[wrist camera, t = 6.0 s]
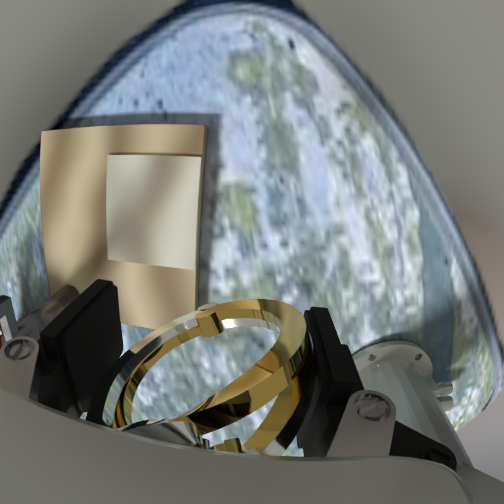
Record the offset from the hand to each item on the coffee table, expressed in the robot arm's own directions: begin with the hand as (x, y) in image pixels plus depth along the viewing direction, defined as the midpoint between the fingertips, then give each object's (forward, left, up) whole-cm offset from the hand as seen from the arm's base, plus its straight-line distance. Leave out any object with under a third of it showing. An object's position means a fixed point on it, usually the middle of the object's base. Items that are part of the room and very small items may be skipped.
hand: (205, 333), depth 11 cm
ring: (0, 0, -2) cm, 2 cm away
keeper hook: (+16, +6, -14) cm, 23 cm away
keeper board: (+11, +1, -16) cm, 20 cm away
